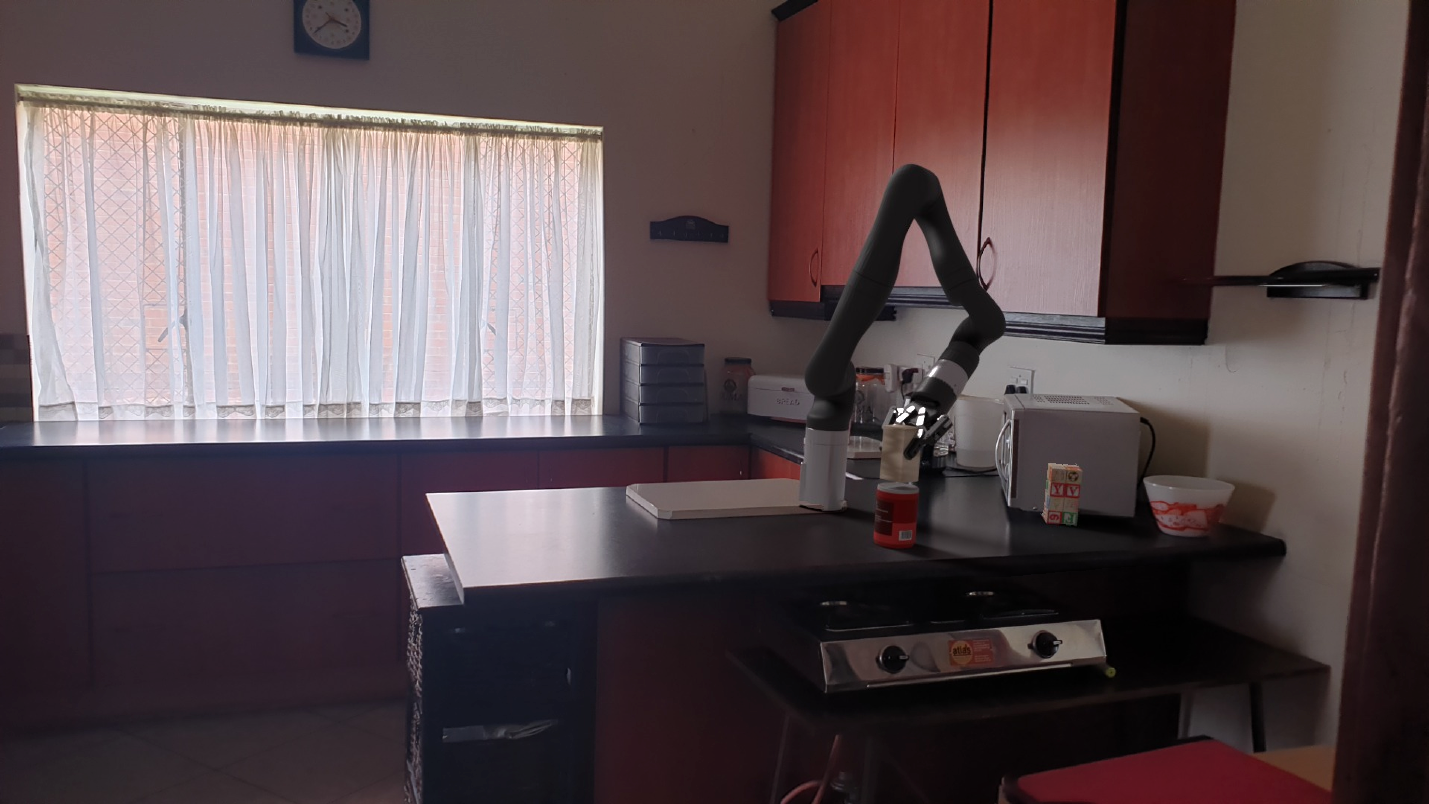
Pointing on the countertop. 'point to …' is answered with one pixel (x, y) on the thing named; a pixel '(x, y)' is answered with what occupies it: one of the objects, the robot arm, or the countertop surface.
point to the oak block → (898, 454)
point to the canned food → (896, 515)
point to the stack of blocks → (1062, 494)
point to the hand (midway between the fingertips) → (894, 454)
